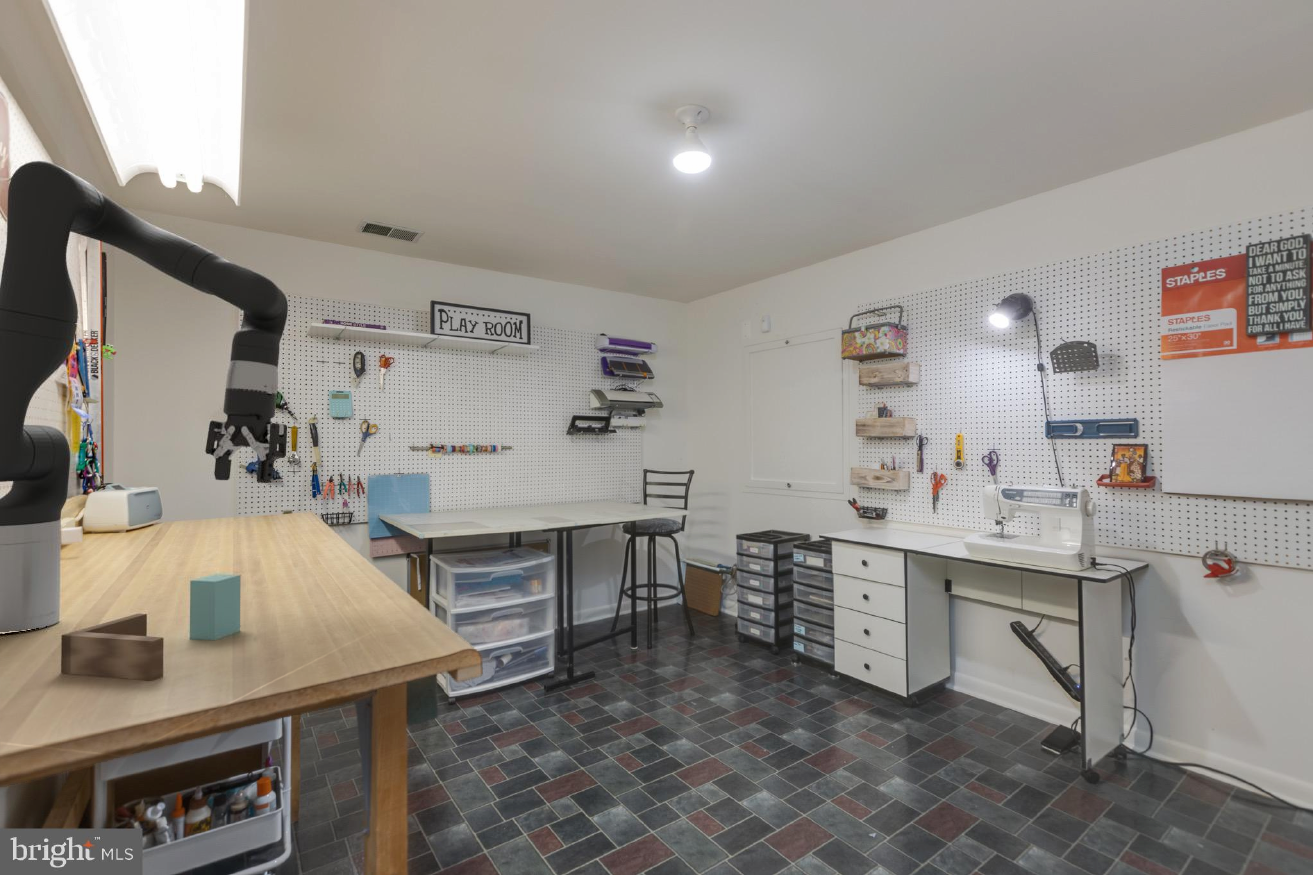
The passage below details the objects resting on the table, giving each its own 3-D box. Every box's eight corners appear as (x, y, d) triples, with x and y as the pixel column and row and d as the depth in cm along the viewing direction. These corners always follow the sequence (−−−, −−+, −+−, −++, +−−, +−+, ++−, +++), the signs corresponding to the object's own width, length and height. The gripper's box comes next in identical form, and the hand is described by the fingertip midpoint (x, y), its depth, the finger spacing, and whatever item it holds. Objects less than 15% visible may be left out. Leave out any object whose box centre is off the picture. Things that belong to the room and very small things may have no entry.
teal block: (189, 638, 91) (190, 580, 91) (215, 629, 95) (216, 573, 95) (214, 640, 90) (215, 581, 90) (240, 630, 95) (240, 575, 95)
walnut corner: (61, 672, 77) (61, 634, 77) (137, 647, 87) (138, 613, 87) (151, 680, 75) (151, 641, 75) (220, 653, 85) (220, 618, 85)
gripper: (198, 385, 102) (188, 479, 100) (268, 387, 99) (259, 483, 98) (236, 392, 109) (227, 479, 108) (303, 393, 106) (294, 483, 105)
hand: (242, 481), depth 103 cm, fingers open, 8 cm apart
